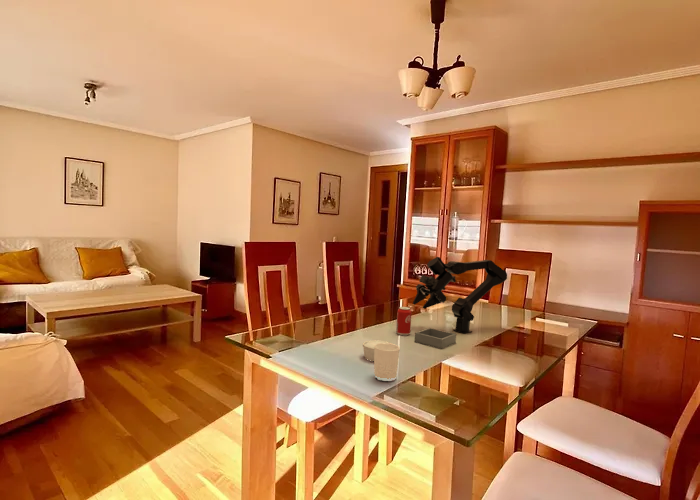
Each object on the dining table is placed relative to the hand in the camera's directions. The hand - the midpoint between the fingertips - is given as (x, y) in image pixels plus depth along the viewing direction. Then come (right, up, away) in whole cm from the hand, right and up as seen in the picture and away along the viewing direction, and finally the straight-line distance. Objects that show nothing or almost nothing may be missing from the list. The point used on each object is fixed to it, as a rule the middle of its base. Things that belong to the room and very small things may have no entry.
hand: (418, 305), depth 172 cm
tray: (+5, -14, -13) cm, 19 cm away
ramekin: (-21, -14, -36) cm, 44 cm away
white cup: (-20, -15, -54) cm, 60 cm away
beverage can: (-7, -13, -2) cm, 15 cm away
